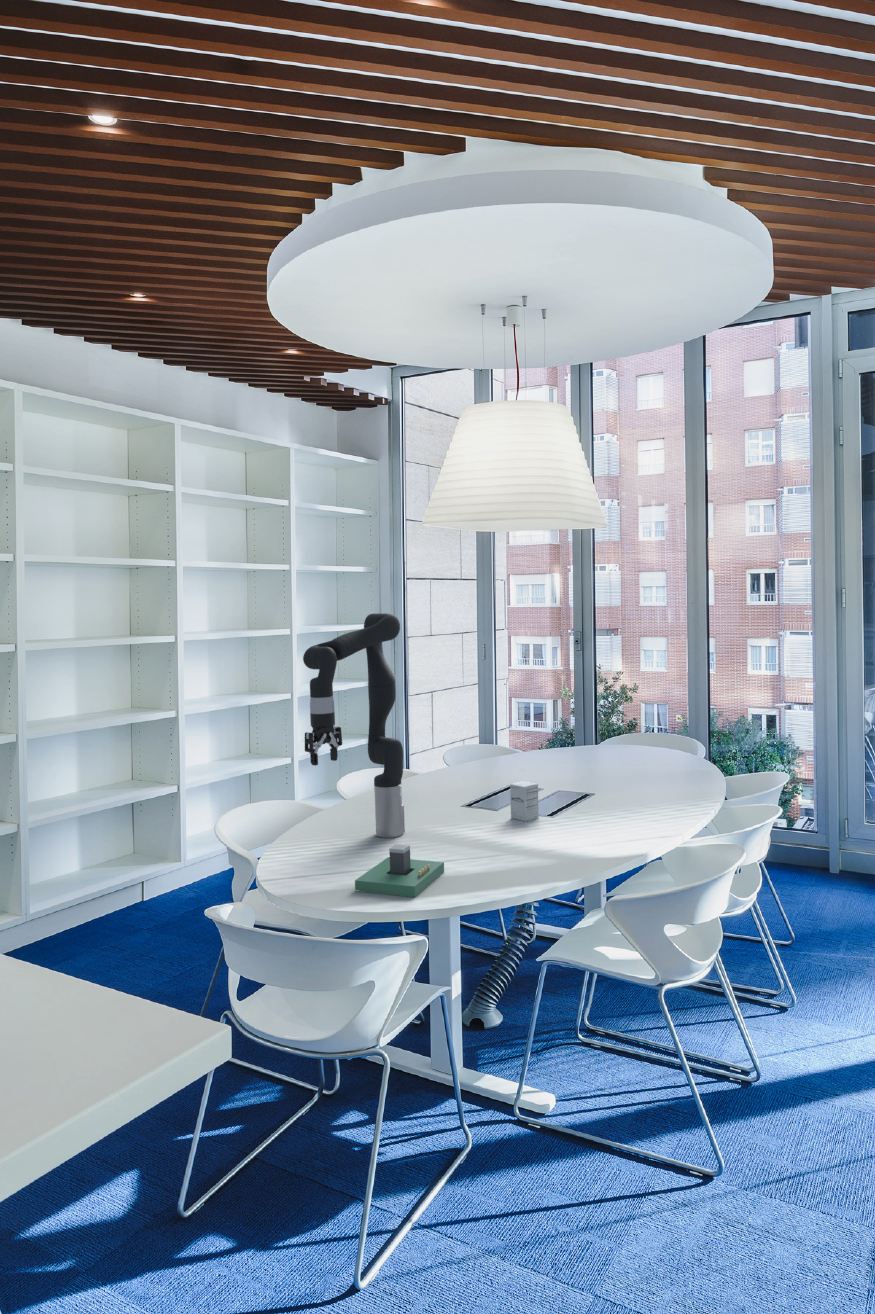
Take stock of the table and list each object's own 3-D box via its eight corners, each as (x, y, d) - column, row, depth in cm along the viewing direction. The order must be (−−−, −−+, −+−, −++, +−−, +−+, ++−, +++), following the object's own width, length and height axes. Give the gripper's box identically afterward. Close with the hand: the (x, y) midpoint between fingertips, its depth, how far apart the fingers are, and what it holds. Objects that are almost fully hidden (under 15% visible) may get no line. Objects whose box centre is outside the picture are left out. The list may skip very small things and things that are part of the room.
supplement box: (510, 818, 315) (509, 783, 314) (524, 814, 320) (523, 780, 319) (525, 822, 309) (524, 786, 308) (539, 817, 314) (538, 783, 313)
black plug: (397, 878, 253) (395, 844, 252) (411, 879, 251) (409, 845, 250) (390, 883, 249) (389, 848, 248) (404, 884, 247) (403, 849, 246)
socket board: (388, 866, 263) (387, 852, 263) (444, 872, 257) (443, 857, 256) (355, 890, 243) (354, 875, 243) (414, 897, 236) (414, 880, 236)
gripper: (314, 714, 264) (317, 768, 265) (346, 708, 275) (348, 759, 276) (297, 713, 268) (299, 765, 269) (329, 707, 279) (331, 757, 281)
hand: (324, 762), depth 273 cm, fingers open, 8 cm apart
